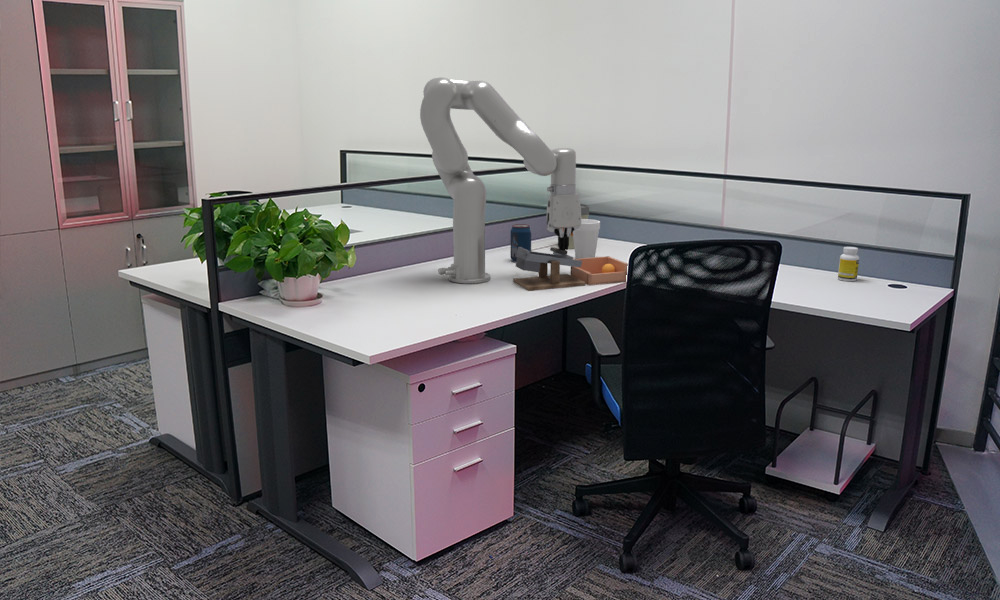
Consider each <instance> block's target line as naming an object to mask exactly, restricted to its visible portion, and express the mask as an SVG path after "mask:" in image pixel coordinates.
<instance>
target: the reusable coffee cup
mask: <svg viewBox="0 0 1000 600" xmlns="http://www.w3.org/2000/svg"><path fill="white" fill-rule="evenodd" d="M580 206H581V219H589V214H590V205H588V204H586V203H580ZM563 232H564V228H563ZM568 250H575V248H574V239H573V232H572V233H571V236H570V237H569V246H568Z"/></svg>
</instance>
